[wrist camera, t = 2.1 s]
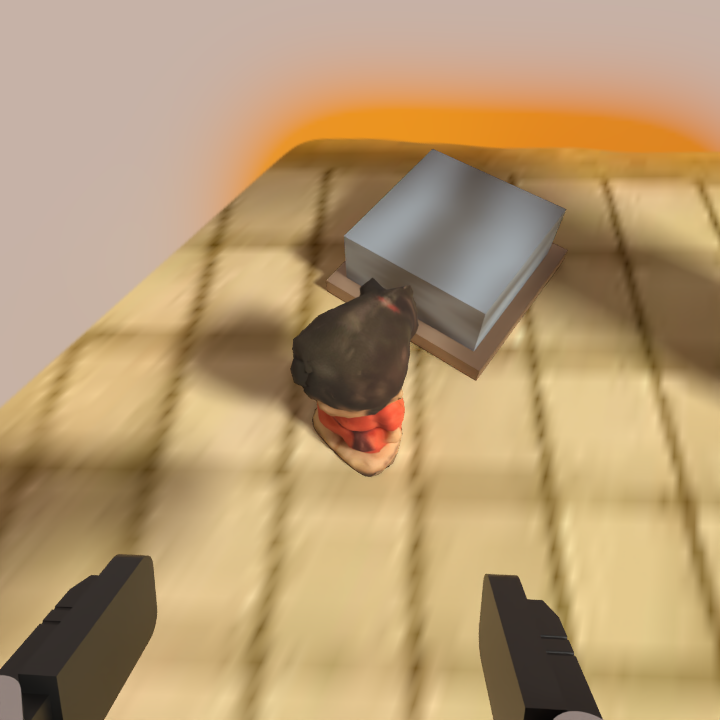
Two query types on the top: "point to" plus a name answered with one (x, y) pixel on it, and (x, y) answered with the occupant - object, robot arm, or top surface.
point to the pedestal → (456, 256)
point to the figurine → (359, 373)
